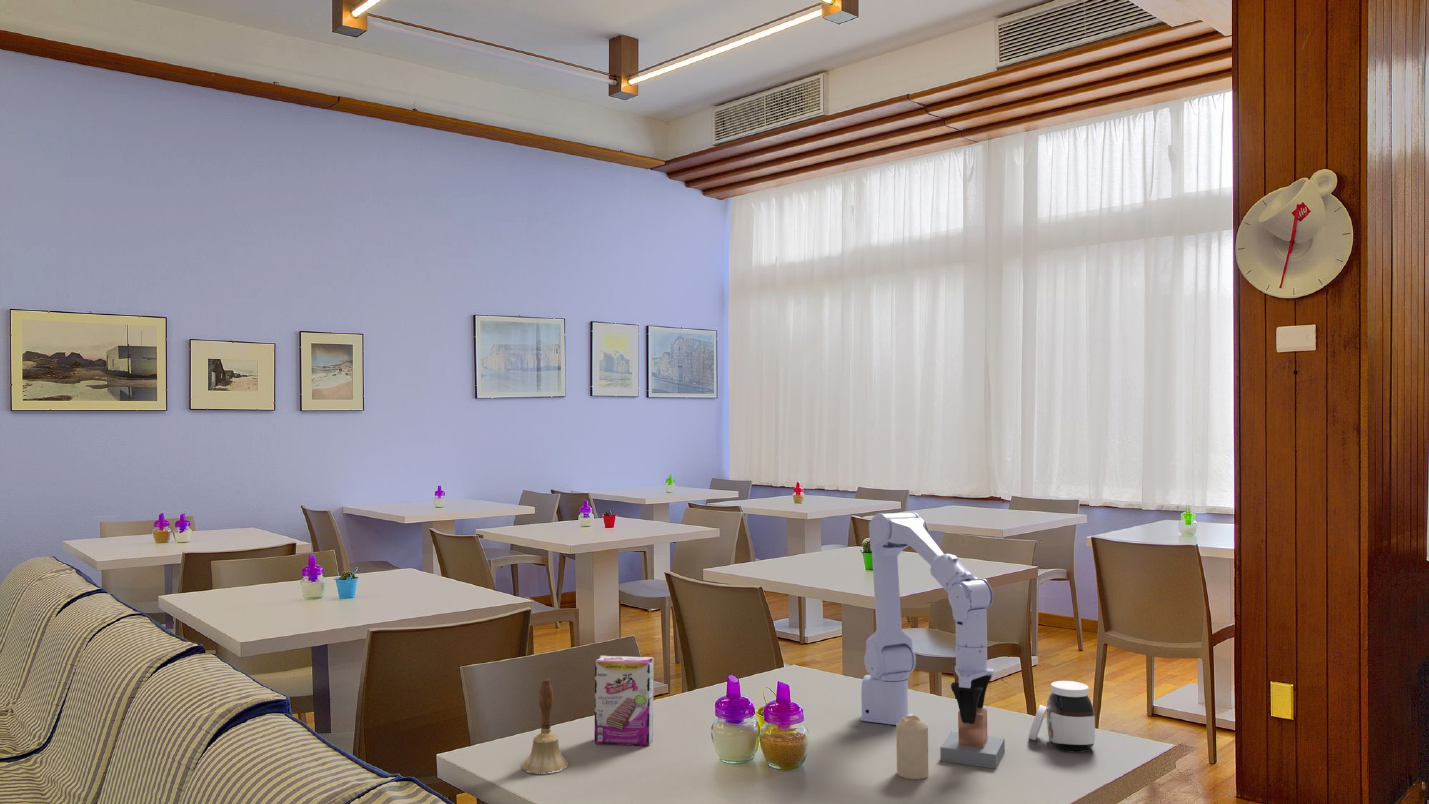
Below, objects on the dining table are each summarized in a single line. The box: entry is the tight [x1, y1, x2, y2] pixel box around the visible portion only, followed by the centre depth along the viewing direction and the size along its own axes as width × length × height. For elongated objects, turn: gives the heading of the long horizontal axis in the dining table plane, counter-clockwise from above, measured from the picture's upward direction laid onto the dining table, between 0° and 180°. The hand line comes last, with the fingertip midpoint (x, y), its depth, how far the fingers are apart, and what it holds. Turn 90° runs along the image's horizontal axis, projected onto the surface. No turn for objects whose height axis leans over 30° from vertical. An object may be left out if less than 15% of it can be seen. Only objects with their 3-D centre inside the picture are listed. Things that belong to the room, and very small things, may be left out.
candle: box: [895, 715, 929, 780], centre depth 168 cm, size 6×6×10 cm
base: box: [939, 731, 1006, 769], centre depth 177 cm, size 10×10×2 cm
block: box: [957, 707, 988, 748], centre depth 177 cm, size 4×4×6 cm
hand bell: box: [521, 678, 569, 775], centre depth 173 cm, size 8×8×16 cm
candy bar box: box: [594, 655, 655, 747], centre depth 187 cm, size 11×5×16 cm, turn 84°
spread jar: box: [1028, 680, 1096, 753], centre depth 183 cm, size 12×11×12 cm
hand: (972, 717), depth 177 cm, fingers open, 7 cm apart
